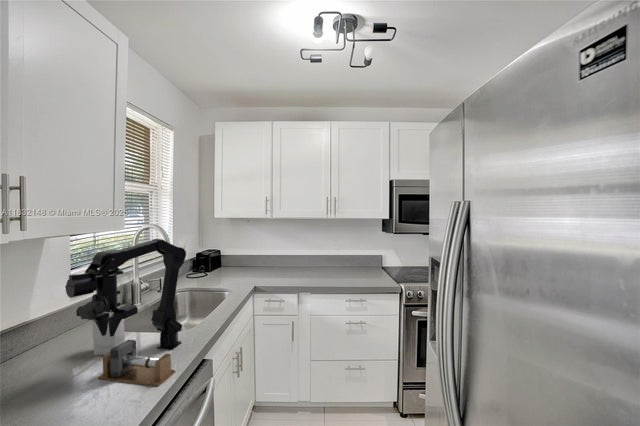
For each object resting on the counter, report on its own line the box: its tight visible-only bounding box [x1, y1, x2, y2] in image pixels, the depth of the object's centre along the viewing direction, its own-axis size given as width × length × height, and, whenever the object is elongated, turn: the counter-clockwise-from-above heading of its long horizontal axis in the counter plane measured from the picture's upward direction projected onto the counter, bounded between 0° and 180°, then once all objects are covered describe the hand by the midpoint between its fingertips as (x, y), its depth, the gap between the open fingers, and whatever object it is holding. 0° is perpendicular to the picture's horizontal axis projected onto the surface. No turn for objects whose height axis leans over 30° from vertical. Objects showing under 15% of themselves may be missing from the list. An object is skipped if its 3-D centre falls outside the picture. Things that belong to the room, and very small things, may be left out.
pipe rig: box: [97, 352, 176, 388], centre depth 99 cm, size 22×8×7 cm, turn 79°
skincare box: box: [91, 310, 126, 356], centre depth 116 cm, size 8×7×16 cm
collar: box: [110, 339, 137, 376], centre depth 100 cm, size 3×7×8 cm, turn 169°
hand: (107, 335), depth 101 cm, fingers open, 3 cm apart
